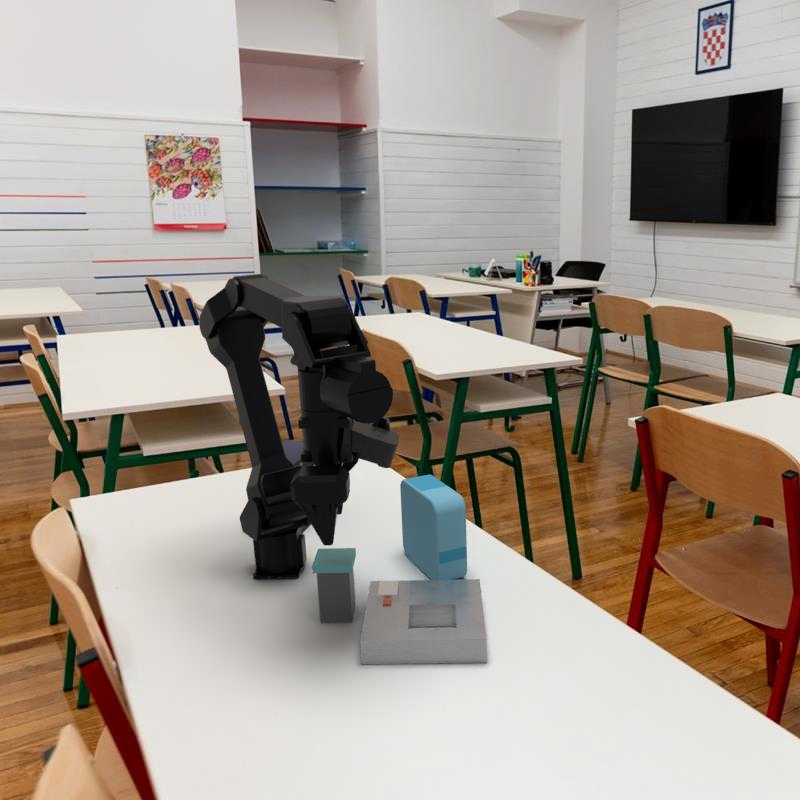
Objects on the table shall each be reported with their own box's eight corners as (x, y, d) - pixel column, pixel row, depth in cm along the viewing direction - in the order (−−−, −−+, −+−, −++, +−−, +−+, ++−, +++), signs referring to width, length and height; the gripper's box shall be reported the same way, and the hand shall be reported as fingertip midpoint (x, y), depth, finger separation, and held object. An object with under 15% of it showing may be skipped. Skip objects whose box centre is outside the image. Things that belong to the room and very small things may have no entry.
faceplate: (361, 664, 87) (360, 635, 86) (371, 602, 101) (370, 576, 100) (487, 662, 86) (486, 633, 85) (480, 600, 100) (479, 574, 99)
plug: (316, 625, 96) (312, 565, 94) (322, 605, 100) (318, 548, 98) (355, 624, 95) (351, 565, 93) (359, 605, 100) (355, 547, 98)
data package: (468, 580, 105) (466, 497, 102) (438, 588, 104) (435, 504, 101) (430, 547, 116) (427, 471, 113) (402, 553, 114) (399, 476, 111)
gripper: (389, 426, 82) (395, 561, 86) (396, 385, 100) (401, 498, 104) (284, 429, 82) (295, 563, 86) (310, 388, 100) (318, 500, 104)
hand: (333, 528), depth 95 cm, fingers open, 9 cm apart
